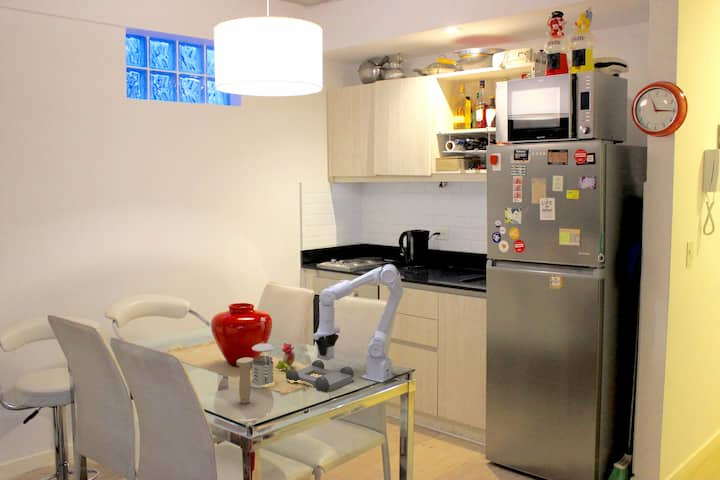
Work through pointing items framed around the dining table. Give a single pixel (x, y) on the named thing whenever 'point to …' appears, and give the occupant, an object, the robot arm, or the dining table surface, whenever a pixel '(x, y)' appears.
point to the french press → (262, 365)
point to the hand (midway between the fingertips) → (326, 354)
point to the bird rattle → (286, 358)
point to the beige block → (327, 353)
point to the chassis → (328, 378)
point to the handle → (245, 378)
